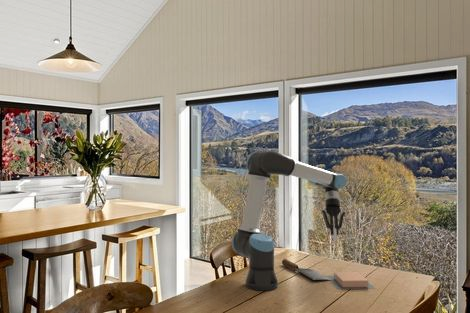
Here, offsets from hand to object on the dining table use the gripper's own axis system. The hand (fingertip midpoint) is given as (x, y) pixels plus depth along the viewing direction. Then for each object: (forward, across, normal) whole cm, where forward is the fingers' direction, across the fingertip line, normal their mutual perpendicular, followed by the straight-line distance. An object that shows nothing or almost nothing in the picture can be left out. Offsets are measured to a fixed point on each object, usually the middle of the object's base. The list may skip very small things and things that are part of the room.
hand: (334, 240), depth 205 cm
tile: (+18, -4, +2) cm, 18 cm away
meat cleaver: (+15, +14, -10) cm, 23 cm away
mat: (+23, -4, +5) cm, 24 cm away
